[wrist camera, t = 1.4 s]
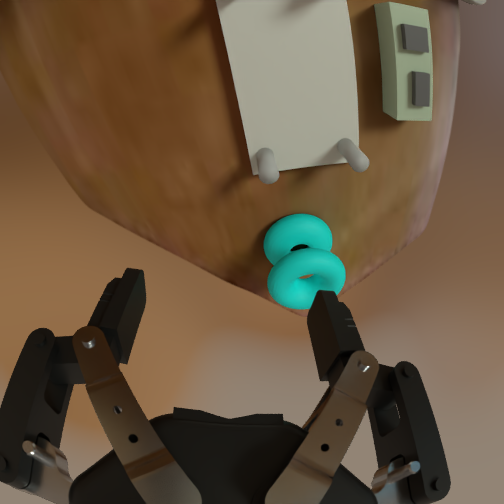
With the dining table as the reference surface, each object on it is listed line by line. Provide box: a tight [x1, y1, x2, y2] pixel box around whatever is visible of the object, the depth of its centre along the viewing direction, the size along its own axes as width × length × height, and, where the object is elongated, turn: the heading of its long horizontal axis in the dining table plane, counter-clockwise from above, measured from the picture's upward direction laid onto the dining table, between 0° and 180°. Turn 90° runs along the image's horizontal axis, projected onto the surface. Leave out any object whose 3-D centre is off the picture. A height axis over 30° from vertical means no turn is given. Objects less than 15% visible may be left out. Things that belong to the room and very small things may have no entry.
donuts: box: [264, 214, 346, 309], centre depth 37 cm, size 10×10×10 cm
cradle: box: [216, 0, 369, 184], centre depth 22 cm, size 24×13×6 cm, turn 10°
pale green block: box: [374, 2, 433, 121], centre depth 21 cm, size 14×5×5 cm, turn 10°
